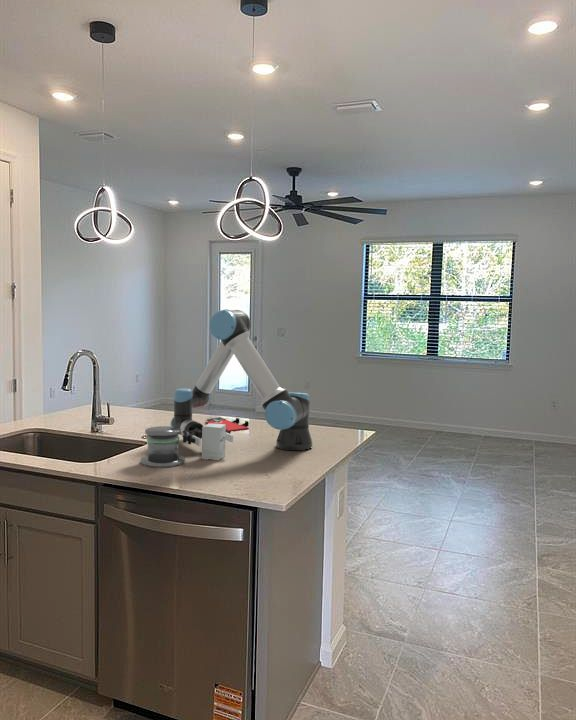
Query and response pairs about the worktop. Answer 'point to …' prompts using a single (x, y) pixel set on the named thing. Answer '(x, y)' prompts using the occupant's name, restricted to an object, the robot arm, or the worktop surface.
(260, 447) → the worktop surface
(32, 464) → the worktop surface
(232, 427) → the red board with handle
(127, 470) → the worktop surface
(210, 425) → the supplement box
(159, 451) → the grey round canister
